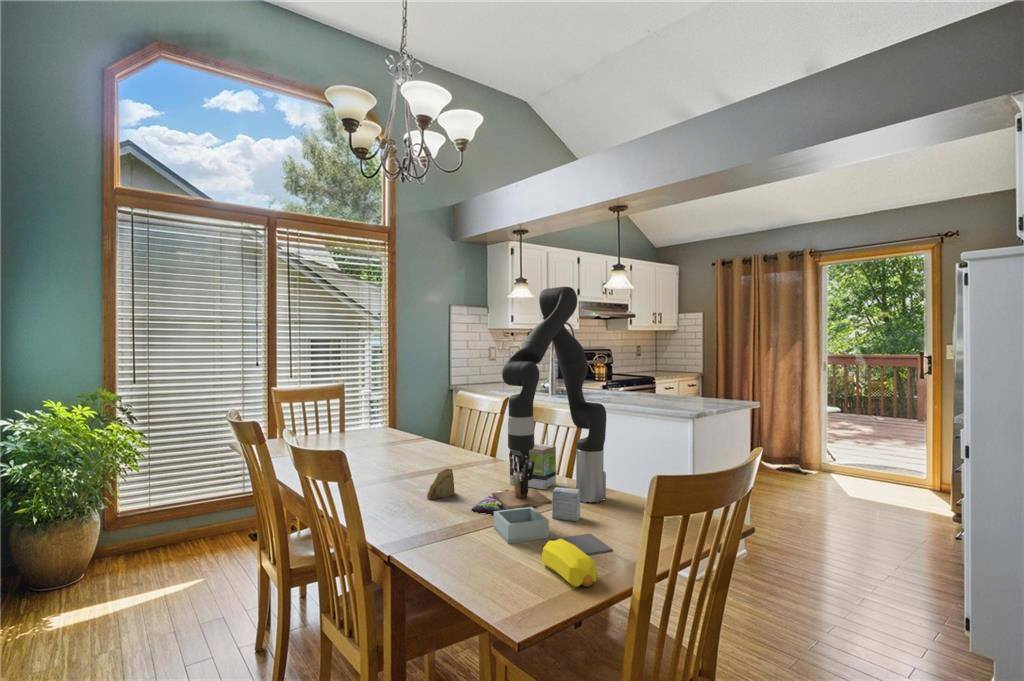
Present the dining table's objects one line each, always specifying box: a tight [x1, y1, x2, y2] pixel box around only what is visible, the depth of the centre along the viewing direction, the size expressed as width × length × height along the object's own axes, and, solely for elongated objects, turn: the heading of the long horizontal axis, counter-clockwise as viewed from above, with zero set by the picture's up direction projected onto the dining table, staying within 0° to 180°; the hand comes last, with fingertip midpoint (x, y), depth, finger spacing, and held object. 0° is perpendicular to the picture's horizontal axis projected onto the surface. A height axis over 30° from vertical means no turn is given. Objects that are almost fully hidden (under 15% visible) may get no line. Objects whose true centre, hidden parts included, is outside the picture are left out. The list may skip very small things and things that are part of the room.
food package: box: [471, 488, 527, 516], centre depth 176 cm, size 22×25×4 cm
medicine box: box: [551, 486, 581, 522], centre depth 165 cm, size 8×4×9 cm, turn 71°
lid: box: [491, 471, 552, 510], centre depth 152 cm, size 13×13×8 cm
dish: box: [493, 506, 550, 545], centre depth 152 cm, size 12×12×5 cm
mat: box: [551, 532, 614, 556], centre depth 143 cm, size 12×12×1 cm
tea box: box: [509, 442, 557, 490], centre depth 202 cm, size 15×10×15 cm, turn 58°
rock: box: [426, 468, 456, 500], centre depth 187 cm, size 11×9×10 cm
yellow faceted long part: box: [541, 537, 597, 588], centre depth 126 cm, size 18×7×8 cm
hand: (521, 491), depth 152 cm, fingers closed on lid, 3 cm apart
